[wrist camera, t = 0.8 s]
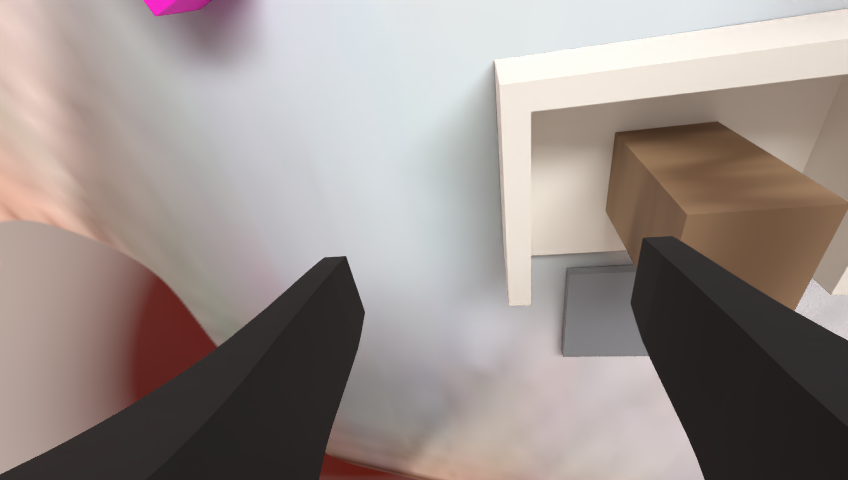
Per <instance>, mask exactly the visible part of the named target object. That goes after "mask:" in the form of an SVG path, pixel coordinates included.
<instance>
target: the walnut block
mask: <svg viewBox="0 0 848 480" xmlns="http://www.w3.org/2000/svg"><path fill="white" fill-rule="evenodd" d="M847 210H848V201H846V200H844V199H843V198H841V197H839V196H838V195H836V194H835V193H833V192H831V191H830V190H828V189H827V188H825V187H823V186H822V185H820V184H818V183H817V182H815V181H814V180H812V179H810V178H809V177H807V176H805V175H804V174H802V173H801V172H799V171H797V170H796V169H794V168H792V167H791V166H789V165H788V164H786V163H784V162H783V161H781V160H780V159H778V158H776V157H775V156H773V155H771V154H770V153H768V152H767V151H765V150H763V149H762V148H760V147H758V146H757V145H755V144H754V143H752V142H750V141H749V140H747V139H746V138H744V137H742V136H741V135H739V134H737V133H736V132H734V131H733V130H731V129H729V128H728V127H726V126H724V125H723V124H721V123H720V122H718V121H716V122H706V123H697V124H688V125H678V126H669V127H659V128H650V129H641V130H631V131H622V132H615V138H614V146H613V154H612V162H611V170H610V178H609V186H608V195H607V203H606V213H607V215H608V217H609V219H610V220H611V222H612V224H613V226H614V228H615V230H616V232H617V233H618V235H619V237H620V239H621V241H622V243H623V244H624V246H625V248H626V250H627V252H628V254H629V255H630V257H631V259H632V261H633V263H634V265H635V267H636V268H637V265H638V260H639V255H640V250H641V244H642V239H643V238H647V237H663V236H673V237H675V238H677V239H678V240H680V241H682V242H683V243H685V244H687V245H688V246H690V247H692V248H693V249H695V250H696V251H698V252H699V253H701V254H703V255H704V256H706V257H707V258H709V259H710V260H712V261H713V262H715V263H717V264H718V265H720V266H721V267H723V268H724V269H726V270H727V271H729V272H731V273H732V274H734V275H735V276H737V277H739V278H740V279H742V280H743V281H745V282H747V283H748V284H750V285H751V286H753V287H755V288H756V289H758V290H760V291H761V292H763V293H764V294H766V295H768V296H769V297H771V298H773V299H774V300H776V301H778V302H780V303H781V304H783V305H785V306H786V307H788V308H790V309H791V310H795V309H796V307H797V305H798V303H799V301H800V299H801V297H802V295H803V294H804V292H805V290H806V288H807V286H808V284H809V282H810V280H811V278H812V277H813V275H814V273H815V271H816V269H817V267H818V265H819V263H820V261H821V259H822V258H823V256H824V254H825V252H826V250H827V248H828V246H829V244H830V242H831V240H832V239H833V237H834V235H835V233H836V231H837V229H838V227H839V225H840V223H841V222H842V220H843V218H844V216H845V214H846V212H847Z"/></svg>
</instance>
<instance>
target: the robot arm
mask: <svg viewBox="0 0 848 480" xmlns="http://www.w3.org/2000/svg"><path fill="white" fill-rule="evenodd" d="M630 304H631V307H632V310H633V314H634V317H635V320H636V324H637V327H638V330H639V333H640V336H641V339H642V342H643V344H644V346H645V348H646V350H647V353H648V355H649V357H650V359H651V361H652V363H653V365H654V367H655V370H656V372H657V374H658V376H659V378H660V380H661V382H662V384H663V386H664V388H665V390H666V392H667V395H668V397H669V399H670V401H671V403H672V405H673V407H674V409H675V411H676V413H677V415H678V417H679V419H680V422H681V424H682V426H683V428H684V430H685V432H686V434H687V436H688V439H689V441H690V443H691V446H692V448H693V450H694V453H695V455H696V457H697V460H698V463H699V465H700V468H701V471H702V474H703V476H704V479H705V480H848V340H846V339H844V338H842V337H840V336H838V335H836V334H835V333H833V332H831V331H829V330H827V329H825V328H824V327H822V326H820V325H818V324H817V323H815V322H813V321H811V320H809V319H808V318H806V317H804V316H802V315H800V314H799V313H797V312H795V311H793V310H791V309H790V308H788V307H786V306H785V305H783V304H781V303H780V302H778V301H776V300H774V299H773V298H771V297H769V296H768V295H766V294H764V293H763V292H761V291H760V290H758V289H756V288H755V287H753V286H751V285H750V284H748V283H747V282H745V281H743V280H742V279H740V278H739V277H737V276H735V275H734V274H732V273H731V272H729V271H727V270H726V269H724V268H723V267H721V266H720V265H718V264H717V263H715V262H713V261H712V260H710V259H709V258H707V257H706V256H704V255H703V254H701V253H699V252H698V251H696V250H695V249H693V248H692V247H690V246H688V245H687V244H685V243H683V242H682V241H680V240H678V239H677V238H675V237H673V236H663V237H647V238H643V239H642V244H641V250H640V255H639V260H638V265H637V271H636V276H635V281H634V286H633V292H632V297H631V302H630ZM364 315H365V311H364V308H363V305H362V302H361V299H360V296H359V293H358V290H357V287H356V284H355V281H354V279H353V276H352V273H351V270H350V267H349V264H348V261H347V258H346V256H342V257H325V258H323V259H322V260H321V261H319V262H318V263H317V264H316V265H314V266H313V267H312V268H311V269H310V270H309V271H308V272H306V273H305V274H304V275H303V276H302V277H301V278H300V279H299V280H297V281H296V282H295V283H294V284H293V285H292V286H291V287H290V288H289V289H287V290H286V291H285V292H284V293H283V294H282V295H281V296H279V297H278V298H277V299H276V300H275V301H274V302H273V303H272V304H270V305H269V306H268V307H267V308H266V309H265V310H264V311H262V312H261V313H260V314H259V315H257V316H256V317H255V318H254V319H253V320H251V321H250V322H249V323H248V324H246V325H245V326H244V327H243V328H242V329H240V330H239V331H238V332H237V333H235V334H234V335H233V336H232V337H231V338H229V339H228V340H227V341H225V342H224V343H223V344H222V345H220V346H219V347H218V348H216V349H215V350H214V351H212V352H211V353H210V354H208V355H207V356H205V357H204V358H202V359H201V360H200V361H198V362H197V363H195V364H194V365H193V366H191V367H190V368H188V369H187V370H186V371H184V372H182V373H181V374H179V375H178V376H177V377H175V378H174V379H172V380H170V381H169V382H167V383H165V384H164V385H162V386H161V387H159V388H157V389H156V390H154V391H153V392H151V393H149V394H148V395H146V396H145V397H143V398H142V399H140V400H138V401H137V402H135V403H134V404H132V405H130V406H129V407H127V408H125V409H124V410H122V411H120V412H119V413H117V414H115V415H113V416H112V417H110V418H108V419H106V420H105V421H103V422H101V423H99V424H97V425H96V426H94V427H92V428H90V429H88V430H86V431H85V432H83V433H81V434H79V435H77V436H75V437H74V438H72V439H70V440H68V441H66V442H65V443H62V444H61V445H59V446H57V447H55V448H53V449H51V450H49V451H47V452H45V453H44V454H41V455H39V456H37V457H35V458H33V459H31V460H29V461H27V462H25V463H23V464H21V465H19V466H17V467H15V468H13V469H11V470H9V471H6V472H4V473H3V474H1V475H0V480H319V476H320V472H321V467H322V463H323V459H324V455H325V450H326V446H327V442H328V439H329V435H330V432H331V428H332V425H333V422H334V419H335V416H336V413H337V410H338V407H339V404H340V401H341V398H342V395H343V392H344V389H345V386H346V383H347V380H348V377H349V374H350V371H351V368H352V365H353V362H354V359H355V356H356V353H357V350H358V346H359V341H360V337H361V332H362V326H363V320H364Z"/></svg>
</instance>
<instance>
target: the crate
mask: <svg viewBox="0 0 848 480" xmlns="http://www.w3.org/2000/svg"><path fill="white" fill-rule="evenodd" d="M494 63H495V84H496V104H497V125H498V146H499V166H500V187H501V208H502V228H503V249H504V260H505V270H506V280H507V290H508V300H509V306H517V305H531V256H533V255H551V254H569V253H587V252H605V251H623V250H626V248H625V246H624V244H623V243H622V241H621V239H620V237H619V235H618V233H617V232H616V230H615V228H614V226H613V224H612V222H611V220H610V219H609V217H608V215H607V213H606V203H607V195H608V186H609V178H610V170H611V162H612V154H613V146H614V138H615V132H622V131H631V130H641V129H650V128H659V127H669V126H678V125H688V124H697V123H706V122H716V121H718V122H720V123H721V124H723V125H724V126H726V127H728V128H729V129H731V130H733V131H734V132H736V133H737V134H739V135H741V136H742V137H744V138H746V139H747V140H749V141H750V142H752V143H754V144H755V145H757V146H758V147H760V148H762V149H763V150H765V151H767V152H768V153H770V154H771V155H773V156H775V157H776V158H778V159H780V160H781V161H783V162H784V163H786V164H788V165H789V166H791V167H792V168H794V169H796V170H797V171H799V172H801V173H802V174H804V175H805V176H807V177H809V178H810V179H812V180H814V181H815V182H817V183H818V184H820V185H822V186H823V187H825V188H827V189H828V190H830V191H831V192H833V193H835V194H836V195H838V196H839V197H841V198H843V199H844V200H846V201H848V9H843V10H836V11H829V12H822V13H815V14H808V15H801V16H794V17H787V18H781V19H774V20H767V21H760V22H753V23H746V24H739V25H732V26H726V27H719V28H712V29H705V30H698V31H691V32H684V33H677V34H670V35H664V36H657V37H650V38H643V39H636V40H629V41H622V42H615V43H608V44H602V45H595V46H588V47H581V48H574V49H567V50H560V51H553V52H547V53H540V54H533V55H526V56H519V57H512V58H505V59H498V60H494ZM812 278H813V279H814V280H815V281H816V282H817V283H818V284H819V285H821V286H822V287H823V288H824V289H825V290H826V291H827V292H828V293H829V294H830V295H847V294H848V210H847V212H846V214H845V216H844V218H843V220H842V222H841V223H840V225H839V227H838V229H837V231H836V233H835V235H834V237H833V239H832V240H831V242H830V244H829V246H828V248H827V250H826V252H825V254H824V256H823V258H822V259H821V261H820V263H819V265H818V267H817V269H816V271H815V273H814V275H813V277H812Z"/></svg>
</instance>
